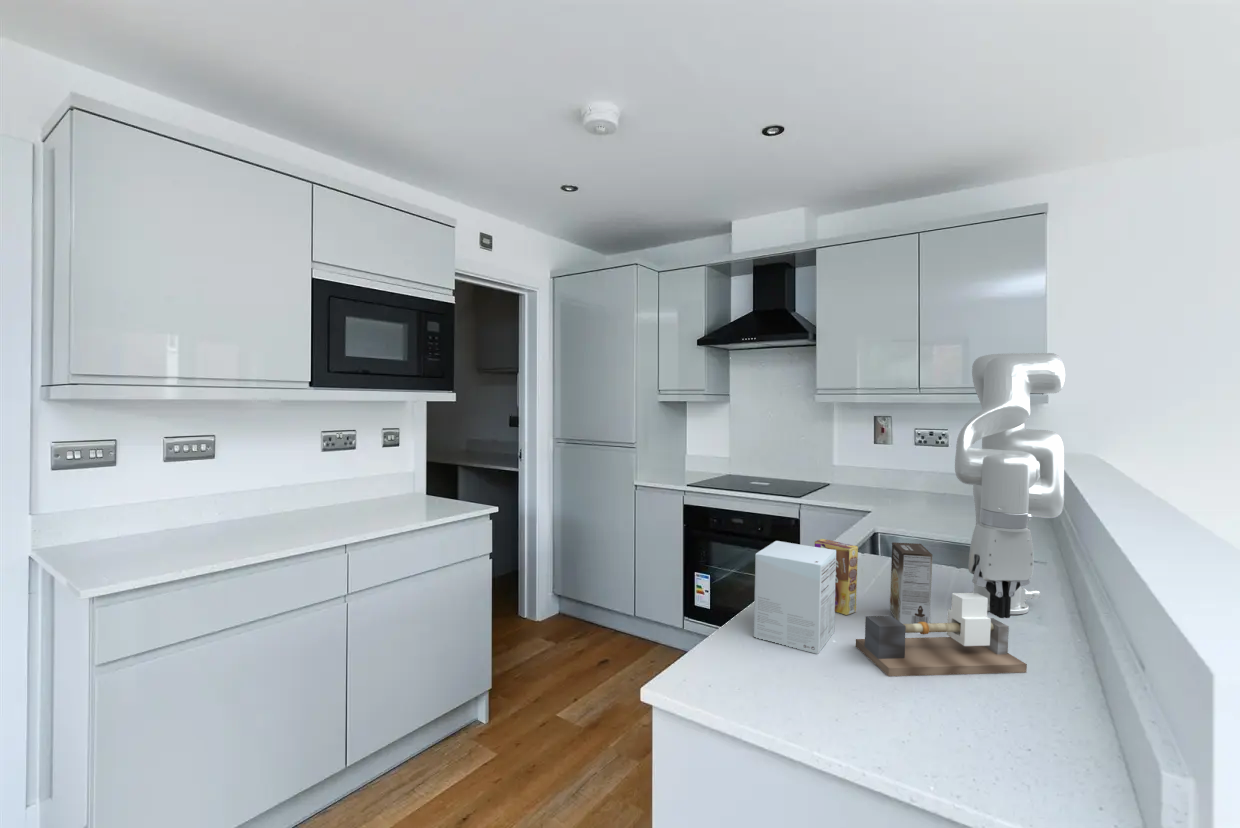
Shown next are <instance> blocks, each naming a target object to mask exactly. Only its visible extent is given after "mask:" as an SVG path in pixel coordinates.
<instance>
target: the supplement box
mask: <svg viewBox="0 0 1240 828" xmlns="http://www.w3.org/2000/svg"><path fill="white" fill-rule="evenodd" d="M754 557H755V558H754V559H755V561H754V562H755V563H754V565H755V566H754V567H755V568H754V572H755V573H754V607H753V608H754V609H753V635H752V636H754V637H756V638H755V639H757V638H759V639H758V640H761V639H763V640H762V641H764V640H768V641H772V642H775V643H774V644H776V643H779V644H778V645H780V644H782V645H781V646H784V645H786V646H785V647H788V646H789V648H792V647H793V648H792V649H796V648H797V650H800V651H805V652H808V653H811V654H812V653H813V654H817V655H818V654H820V652H821V651H822V649H823V648H824V647H825V645H826V644H827V643H828V642H829V640H830V638H832V636H833V634H835V615H836V614H835V613H836V612H835V580H836V550H833V549H826V548H820V547H815V546H813V545H806V544H798V543H793V542H792V543H791V542H787V541H780V540H775V541H773V542H771V543H770V544H769V545H767V546H765V547H764V548H762V549H761V550H759V551H757V552H756V553H755V556H754ZM754 637H753V638H754ZM768 641H767V642H768ZM772 642H771V643H772Z"/></svg>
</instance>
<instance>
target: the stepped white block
mask: <svg viewBox="0 0 1240 828" xmlns="http://www.w3.org/2000/svg"><path fill="white" fill-rule="evenodd" d="M987 605H988V598H986V597H984V596H982V595H980V594H978V593H969V592H953V593H951V605H950V606H951V607H950V609H949V608H948V609H947V621H946V623H961V630H960V632H946V636H947V637H951V638H953V639H954V640H956V641H957V642H959V643H960V644H962V645H963V646H987V645H990V629H991V619H990V618H991V617H988V611H987Z"/></svg>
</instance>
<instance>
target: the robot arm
mask: <svg viewBox="0 0 1240 828" xmlns="http://www.w3.org/2000/svg"><path fill="white" fill-rule="evenodd" d="M971 367H972V368H971V375H972V376H971V377H972V382H973V387H974V389H975V392H976V395H977V397H978V400H979V402H980V405H981V410H980V411H979V412H978V413H976V414H975V415H974V416H972V417H971V418H970V419H969V420H968V421H966V423H965V424H963V427H962V428H961V429H960V431H959V434H958V437H957V439H956V446H955V457H954V458H955V459H954V472H955V476H956V478H957V480H958V481H960V482H961V483H962V484H965V485H969V486H972V494H973V501H974V502H973V503H974V510H975V511H974V512H975V526H974V529H973V532H972V536H971V541H970V547H969V556H968V572H969V573H970V574H972V575H973V576H972V581H971V582H972V583H973V591H969V592H968V593H978V594H980V595H982V596H984V597H986V598H988V605H987V612H990V614H991V615H994V616H995V617H997V618H999V619H1010V617H1011V615H1023V614H1026V613H1028V612H1029V611H1030V610H1029V609H1030V607H1029V604H1028V603H1027V602H1026V600H1027V601H1028V599H1031V600H1032V599H1033V600H1034V599H1036V600H1038V599H1040V598H1041V592H1040V591H1039V590H1037V589H1036V590H1035V589H1034V590H1033V589H1032V590H1031V589H1030V590H1027V589H1026V588H1025V587H1024V586H1028V585H1030V583H1031V582H1030V581H1031V580H1030V579H1031V578H1032V576H1033V573H1034V546H1033V540H1032V534H1031V530H1030V528H1028V526H1029V524H1028V522H1029V521H1032V518H1033V517H1036V518H1044V519H1053V518H1057V517H1059V516H1060V515H1061V514H1062V512H1063V510H1064V506H1065V447H1064V442H1063V440H1062V437H1061V436H1060V435H1059V434H1058V433H1057V432H1055V431H1053V430H1048V429H1029V428H1026V427H1025V426H1026V425H1025V423H1026V422H1027V421H1028V420H1029V418H1030V416H1031V394H1057V393H1059V392H1060V391H1061V390H1063V388H1064V386H1065V382H1066V381H1065V380H1066V368H1065V364H1064V361H1063V360H1062V358H1061V357H1060V356H1059V355H1058V354H1056V353H1054V352H1038V353H1037V352H1036V353H1035V352H1031V353H1030V352H1029V353H1025V352H1023V353H1014V352H1013V353H1010V352H1009V353H993V354H985V355H982V356H979V357H977V358H976V359H974V361H973V363H972V366H971ZM980 440H981V448H973V445H974V444H975V443H977V442H978V441H980Z"/></svg>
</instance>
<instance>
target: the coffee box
mask: <svg viewBox="0 0 1240 828" xmlns="http://www.w3.org/2000/svg"><path fill="white" fill-rule="evenodd" d="M933 558H934V557H933V554H932V553H931V552H930V551H929V550H928V549H927V548H926V547H925V546H924V544H922V543H914V542H913V543H910V542H909V543H908V542H892V543H891V567H890V570H891V571H890V596H889V597H890V598H889V599H890V600H889V610H890V612H891V614H892V615H893V617H894V618H895V619H896V620H898V621H899V622H901V623H902V624H918V622H926V623H931V622H930V621H931V620H930V618H931V598H932V578H933V576H932V575H933Z"/></svg>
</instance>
